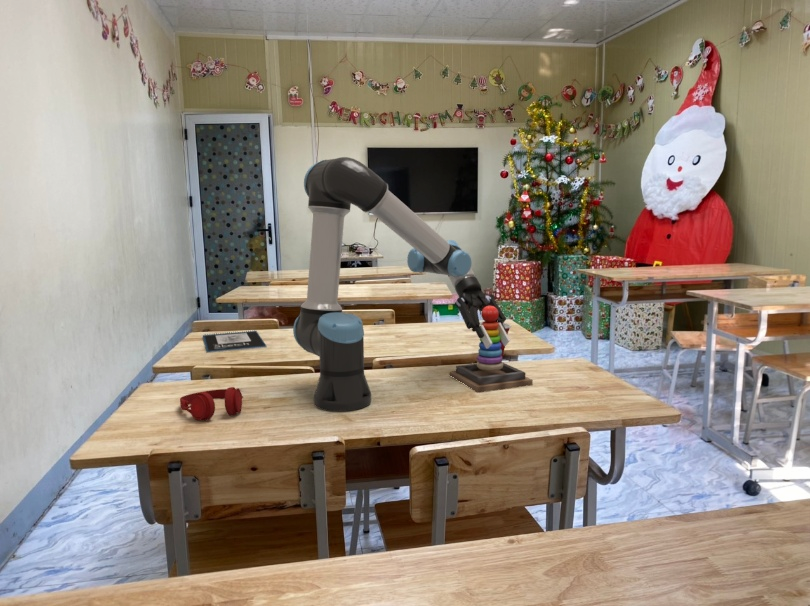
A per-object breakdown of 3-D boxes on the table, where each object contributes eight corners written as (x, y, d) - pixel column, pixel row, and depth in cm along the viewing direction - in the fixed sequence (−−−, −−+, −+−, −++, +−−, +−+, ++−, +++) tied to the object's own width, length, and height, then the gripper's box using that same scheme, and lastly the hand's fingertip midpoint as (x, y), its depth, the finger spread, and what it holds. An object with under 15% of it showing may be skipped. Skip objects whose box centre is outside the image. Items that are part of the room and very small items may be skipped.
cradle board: (477, 392, 165) (478, 380, 165) (449, 376, 182) (449, 365, 181) (532, 384, 172) (532, 373, 171) (500, 369, 188) (500, 359, 188)
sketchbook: (206, 355, 216) (206, 349, 215) (202, 338, 243) (202, 333, 243) (266, 348, 223) (266, 343, 223) (256, 333, 251) (255, 329, 251)
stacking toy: (509, 368, 175) (509, 306, 172) (488, 373, 171) (489, 309, 168) (490, 362, 182) (491, 302, 179) (471, 367, 177) (471, 305, 174)
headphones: (252, 414, 149) (232, 403, 166) (249, 386, 148) (230, 378, 166) (190, 425, 141) (176, 413, 159) (187, 396, 141) (174, 387, 158)
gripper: (484, 288, 191) (517, 347, 179) (435, 292, 182) (466, 355, 170) (495, 273, 185) (529, 333, 174) (444, 277, 176) (477, 341, 165)
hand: (498, 344), depth 172 cm, fingers closed on stacking toy, 6 cm apart
